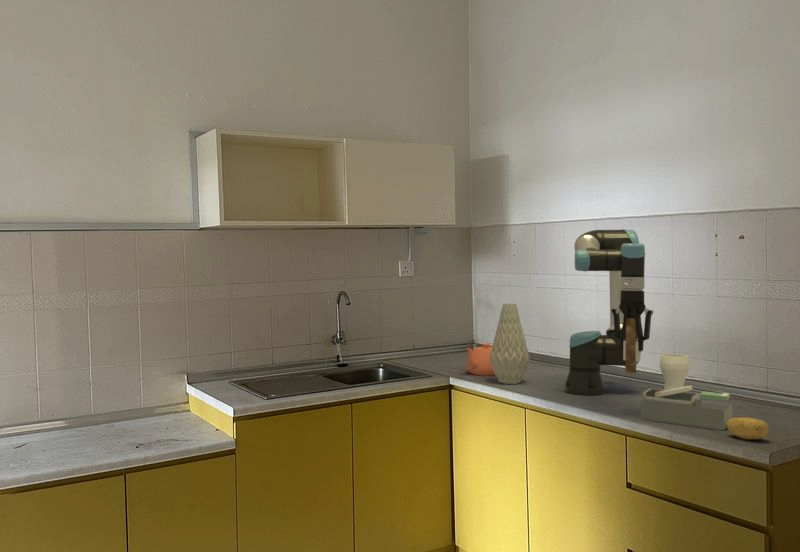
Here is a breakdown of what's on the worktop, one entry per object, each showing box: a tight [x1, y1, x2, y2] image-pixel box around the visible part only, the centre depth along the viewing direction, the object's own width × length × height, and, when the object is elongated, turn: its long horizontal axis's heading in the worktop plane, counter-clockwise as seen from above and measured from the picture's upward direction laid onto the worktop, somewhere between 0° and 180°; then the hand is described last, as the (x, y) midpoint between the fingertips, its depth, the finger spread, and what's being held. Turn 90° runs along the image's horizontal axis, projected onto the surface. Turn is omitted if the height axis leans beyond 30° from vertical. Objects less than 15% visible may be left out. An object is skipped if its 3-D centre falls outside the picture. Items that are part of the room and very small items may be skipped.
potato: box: [726, 417, 770, 441], centre depth 206 cm, size 7×11×6 cm, turn 41°
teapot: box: [465, 342, 495, 377], centre depth 318 cm, size 25×17×13 cm
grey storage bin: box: [640, 387, 733, 431], centre depth 229 cm, size 25×13×8 cm, turn 55°
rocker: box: [654, 384, 694, 397], centre depth 231 cm, size 11×4×1 cm, turn 55°
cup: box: [659, 353, 691, 390], centre depth 270 cm, size 11×11×15 cm
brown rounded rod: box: [624, 318, 637, 374], centre depth 235 cm, size 3×3×18 cm
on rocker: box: [699, 390, 731, 402], centre depth 224 cm, size 8×5×1 cm, turn 55°
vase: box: [489, 303, 531, 385], centre depth 295 cm, size 17×17×33 cm
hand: (631, 360), depth 236 cm, fingers closed on brown rounded rod, 3 cm apart
